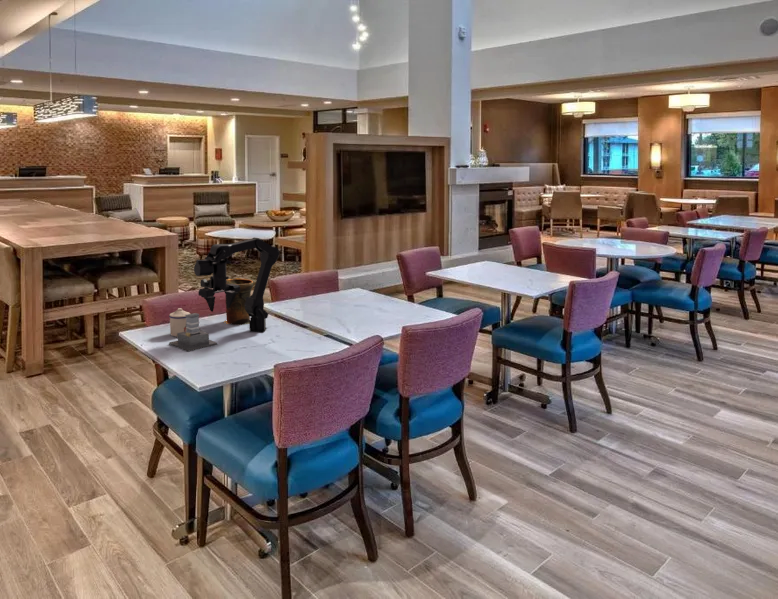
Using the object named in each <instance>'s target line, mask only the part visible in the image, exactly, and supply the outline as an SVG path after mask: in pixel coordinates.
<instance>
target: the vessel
mask: <svg viewBox="0 0 778 599" xmlns="http://www.w3.org/2000/svg"><path fill="white" fill-rule="evenodd" d="M226 280H227V284H236V285H239V286H240V291H239V292H238V294H237V295H236V296H235V298H234V300H233V302H232V304H231V306H230V308H227V298H226V297H225V312H226V313H225V314H226V316H225V317H226V320H227V321H226V320H224V322H223V323H224V324H227V325H232V326H244V325H249V321H250V320H251V319H250V318H251V316H249V315H248V313H247V312H246V310H245V305H244V304H245V302H246V298H247V297H250V296H251V295H252V294H251V293H252V289H253V288H254V281H253V280H252V279H248V278H228V279H226ZM225 322H226V323H225Z"/></svg>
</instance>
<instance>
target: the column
mask: <svg viewBox="0 0 778 599" xmlns="http://www.w3.org/2000/svg"><path fill="white" fill-rule="evenodd" d="M186 325H187V326H186V328H187V331H186V333H188V332H189V333H190V335H196V334H199V333H200V331H201V330H200V314H199V312H198V313H197V312H194V313H193V312H192V313H190V314H187V315H186ZM199 330H200V331H199Z"/></svg>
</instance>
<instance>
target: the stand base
mask: <svg viewBox="0 0 778 599" xmlns="http://www.w3.org/2000/svg"><path fill="white" fill-rule="evenodd" d="M199 331H200V333H199V334H196V335H190V333H189V332H188V333H186V332H181V333H177V334H178V337H177V340H173V341H169V342H168V344H169V346H172V347H174V348H177V349H180V350H182V351H186V352H188V353H189V352H193V351H197V350H201V349H205V348H211V347H214V346H218V345H219V344H218V342H217V341H214V340H212V339H210V334H209V332H206V331H203V330H200V329H199Z"/></svg>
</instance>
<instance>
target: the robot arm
mask: <svg viewBox="0 0 778 599" xmlns="http://www.w3.org/2000/svg"><path fill="white" fill-rule="evenodd" d="M252 249H256V251H257V252H259V253H260V256H259V258H260V267H259V270H258V272H257V273H258V274H257V278H256V280H255V283H254V286H253V291H252V294H251V296H250V297H247V298H246V302H245V304H244V305H245V310H246V312H247V313H248V315H249V316H250V321H249V324H248V326H249V327H248V328H249V332H250V333H253V332H254V333H264V332H266V330H267V329H268V328H267V324H266V323H267V322H266V321H267V320H266V319H268V318H269V313H268V312H267V311H266V310H265V309H264V308H265V303H264V302H265V301H264V295H265V291H266V288H267V285H268V281H269V277H270V274H271V270H272V267H273V266H275V263H277V260H278V259H279V257H280V250H279V249H278V247H276V246H273V245H270V244H269V243H267V242H265V241H264V240H263V239H262V238H260V237H259V238H258V237H252V238H249V239H245V240H241V241H237V242H234V243H220V244H219V243H218V244H217V243H216V244H213V245H211V247H210V250H209V252H208V254H207V255H206V257H205V258H204V259H196V260H195V263H194V266H193V271H194V274H195V276H196V277H205V276H210V277H209V278H210V279H209V280H207V279H206V278H204V279H203V278H202V279H201V280H200V288H199V290H198V296H199V297H201V298H203V299H204V300H205V301H206V304H207V306H208V309H209V310H210V312H212V313H213V312H214V308H215V301H216V296H215V294H219V293H223V292H224V294H225V299H226V298H227V308H230V306H231V304H232V302H233V300H234V298H235V296H236V295H237V294H238V292H239V291H240V286H239V285H236V284H227V280H228V279H229V276H227V265H228V264H229V265H230V264H231V263H232V262H231V260H229V259H228V258H229V257H231V256H233V255H234V254H236V253H240V252H243V251H247V250H252ZM211 275H212V276H211Z"/></svg>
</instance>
